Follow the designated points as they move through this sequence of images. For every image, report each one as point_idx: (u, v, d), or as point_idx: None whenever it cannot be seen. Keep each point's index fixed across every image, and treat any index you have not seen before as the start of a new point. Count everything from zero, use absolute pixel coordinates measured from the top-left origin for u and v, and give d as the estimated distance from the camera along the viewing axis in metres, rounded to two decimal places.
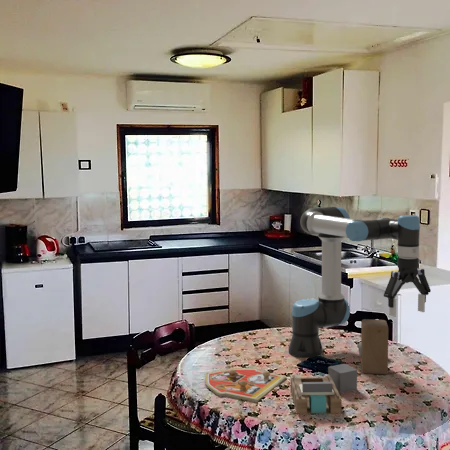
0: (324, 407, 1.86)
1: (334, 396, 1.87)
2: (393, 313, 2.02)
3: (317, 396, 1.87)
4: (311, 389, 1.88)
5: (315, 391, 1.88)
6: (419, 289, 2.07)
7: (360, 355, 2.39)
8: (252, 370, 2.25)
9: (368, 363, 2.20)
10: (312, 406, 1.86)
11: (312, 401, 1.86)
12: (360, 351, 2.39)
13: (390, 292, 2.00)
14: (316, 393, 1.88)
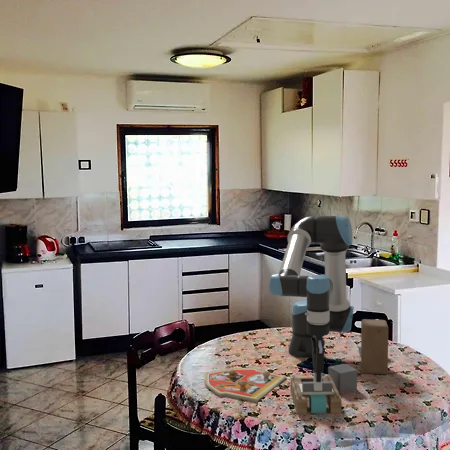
0: (324, 407, 1.86)
1: (334, 396, 1.87)
2: None
3: (317, 396, 1.87)
4: (311, 389, 1.88)
5: (315, 391, 1.88)
6: None
7: (360, 355, 2.39)
8: (252, 370, 2.25)
9: (368, 363, 2.20)
10: (312, 406, 1.86)
11: (312, 401, 1.86)
12: (360, 351, 2.39)
13: None
14: (316, 393, 1.88)
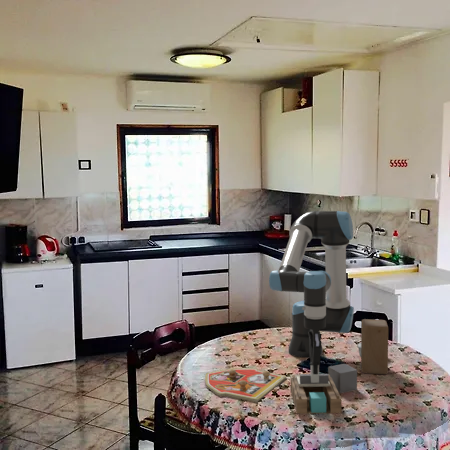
0: (324, 407, 1.86)
1: (334, 396, 1.87)
2: None
3: (317, 396, 1.87)
4: (308, 381, 1.95)
5: (312, 383, 1.95)
6: None
7: (360, 355, 2.39)
8: (252, 370, 2.25)
9: (368, 363, 2.20)
10: (312, 406, 1.86)
11: (312, 401, 1.86)
12: (360, 351, 2.39)
13: (309, 352, 1.97)
14: (313, 385, 1.95)
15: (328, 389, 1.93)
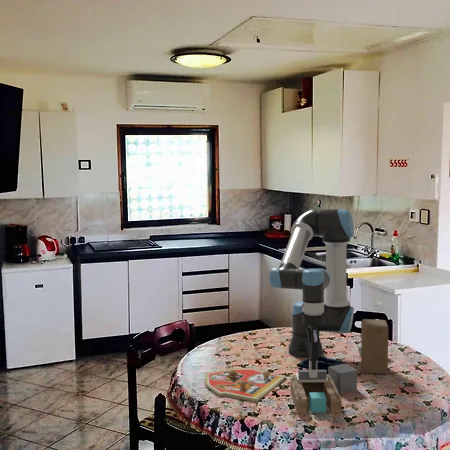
0: (324, 407, 1.86)
1: (334, 396, 1.87)
2: None
3: (317, 396, 1.87)
4: (306, 377, 1.99)
5: (310, 378, 1.99)
6: None
7: (360, 355, 2.39)
8: (252, 370, 2.25)
9: (368, 363, 2.20)
10: (312, 406, 1.86)
11: (312, 401, 1.86)
12: (360, 351, 2.39)
13: (308, 348, 2.01)
14: (311, 380, 1.99)
15: (328, 389, 1.93)
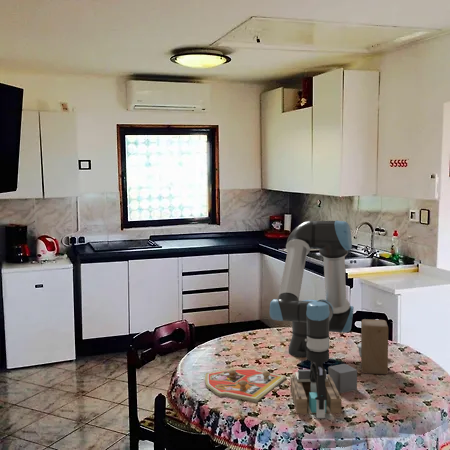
0: None
1: (334, 396, 1.87)
2: None
3: None
4: (306, 376, 1.99)
5: (310, 378, 1.99)
6: None
7: (360, 355, 2.39)
8: (252, 370, 2.25)
9: (368, 363, 2.20)
10: (312, 406, 1.86)
11: (312, 401, 1.86)
12: (360, 351, 2.39)
13: (310, 373, 1.96)
14: None
15: (328, 389, 1.93)
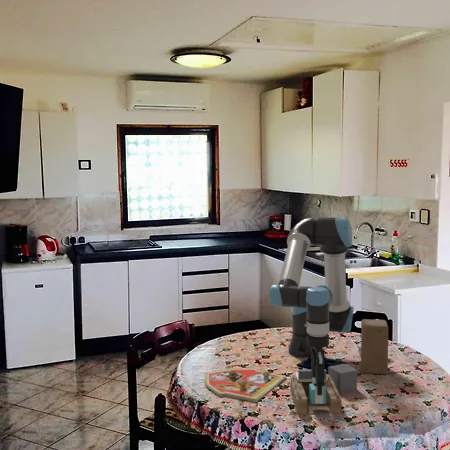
0: (324, 399, 1.86)
1: (334, 396, 1.87)
2: None
3: None
4: (306, 376, 1.99)
5: (310, 378, 1.99)
6: None
7: (360, 355, 2.39)
8: (252, 370, 2.25)
9: (368, 363, 2.20)
10: (312, 397, 1.86)
11: (312, 392, 1.86)
12: (360, 351, 2.39)
13: None
14: (311, 380, 2.00)
15: (328, 389, 1.93)
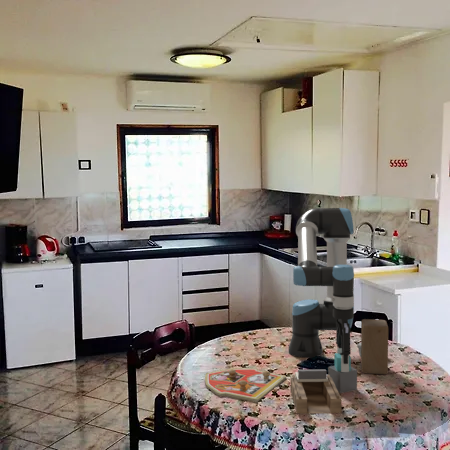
0: (349, 366, 2.03)
1: (334, 396, 1.87)
2: None
3: None
4: (306, 376, 1.99)
5: (310, 378, 1.99)
6: None
7: (360, 355, 2.39)
8: (252, 370, 2.25)
9: (368, 363, 2.20)
10: (338, 365, 2.03)
11: (338, 360, 2.03)
12: (360, 351, 2.39)
13: (336, 338, 2.10)
14: (311, 380, 2.00)
15: (328, 389, 1.93)
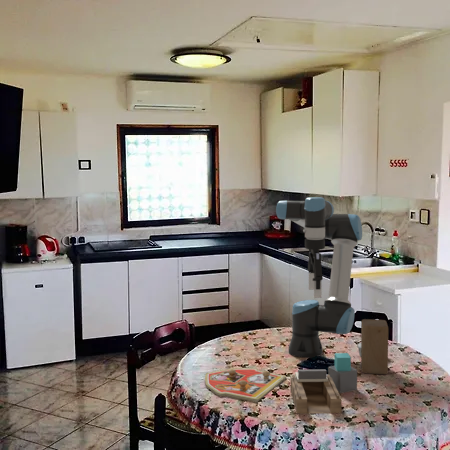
0: (349, 366, 2.03)
1: (334, 396, 1.87)
2: None
3: (342, 356, 2.04)
4: (306, 376, 1.99)
5: (310, 378, 1.99)
6: None
7: (360, 355, 2.39)
8: (252, 370, 2.25)
9: (368, 363, 2.20)
10: (338, 365, 2.03)
11: (338, 360, 2.03)
12: (360, 351, 2.39)
13: (308, 265, 2.19)
14: (311, 380, 2.00)
15: (328, 389, 1.93)
